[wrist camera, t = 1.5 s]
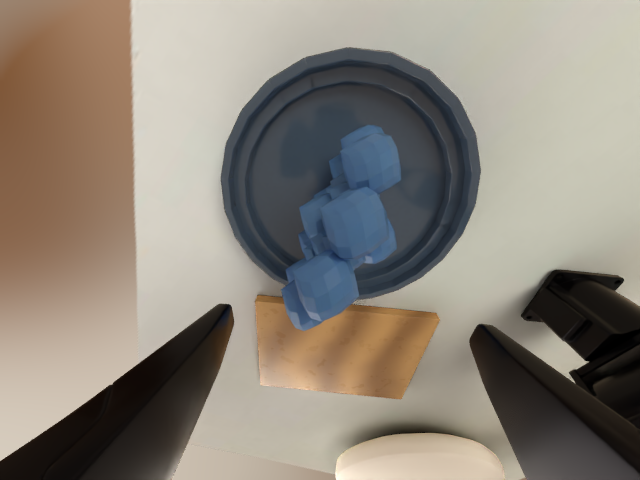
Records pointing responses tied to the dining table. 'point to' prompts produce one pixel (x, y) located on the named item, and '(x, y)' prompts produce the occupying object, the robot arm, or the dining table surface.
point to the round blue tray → (324, 144)
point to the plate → (419, 459)
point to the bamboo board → (343, 349)
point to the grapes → (343, 229)
